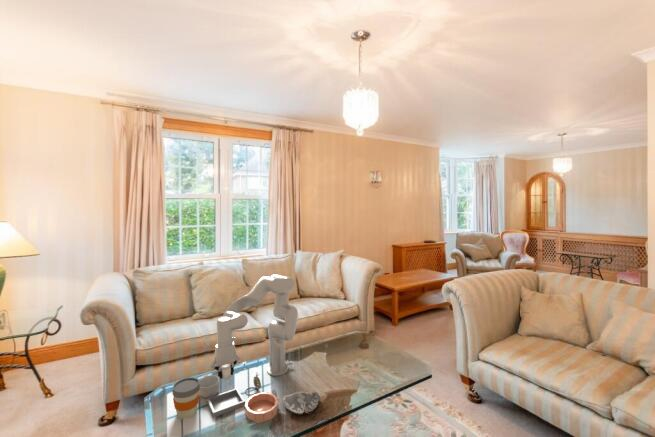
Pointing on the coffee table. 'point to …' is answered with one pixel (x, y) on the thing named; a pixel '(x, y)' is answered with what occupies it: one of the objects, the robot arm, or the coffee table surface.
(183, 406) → the reusable coffee cup
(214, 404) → the tray
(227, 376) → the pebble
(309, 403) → the brain slice
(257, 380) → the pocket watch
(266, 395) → the bowl
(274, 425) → the coffee table surface
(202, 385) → the teacup
